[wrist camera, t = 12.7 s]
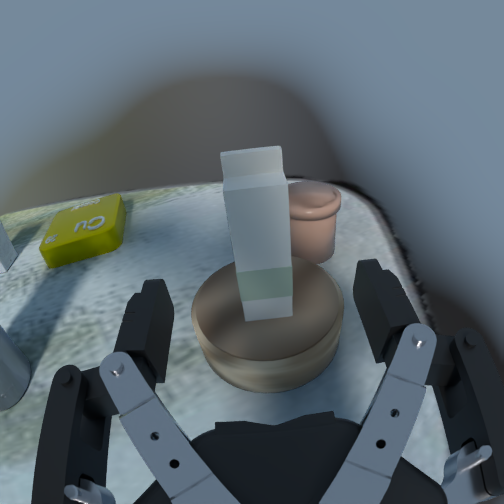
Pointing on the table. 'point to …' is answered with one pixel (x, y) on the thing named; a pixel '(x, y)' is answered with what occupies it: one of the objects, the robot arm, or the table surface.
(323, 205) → the terracotta pot
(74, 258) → the element tile
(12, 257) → the small box
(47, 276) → the table surface
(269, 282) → the carton
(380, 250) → the table surface
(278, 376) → the oak podium
